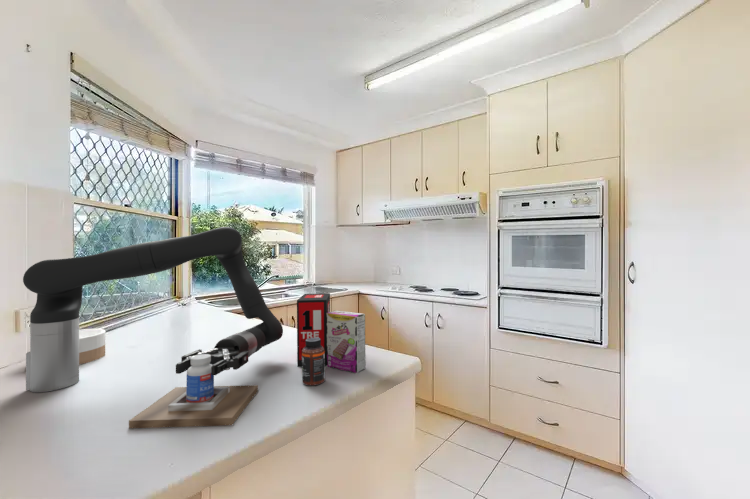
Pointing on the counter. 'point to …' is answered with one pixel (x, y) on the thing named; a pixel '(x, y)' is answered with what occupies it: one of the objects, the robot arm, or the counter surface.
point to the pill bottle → (200, 380)
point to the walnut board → (196, 408)
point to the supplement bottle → (313, 362)
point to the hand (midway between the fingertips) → (194, 370)
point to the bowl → (91, 345)
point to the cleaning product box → (312, 321)
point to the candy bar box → (346, 341)
